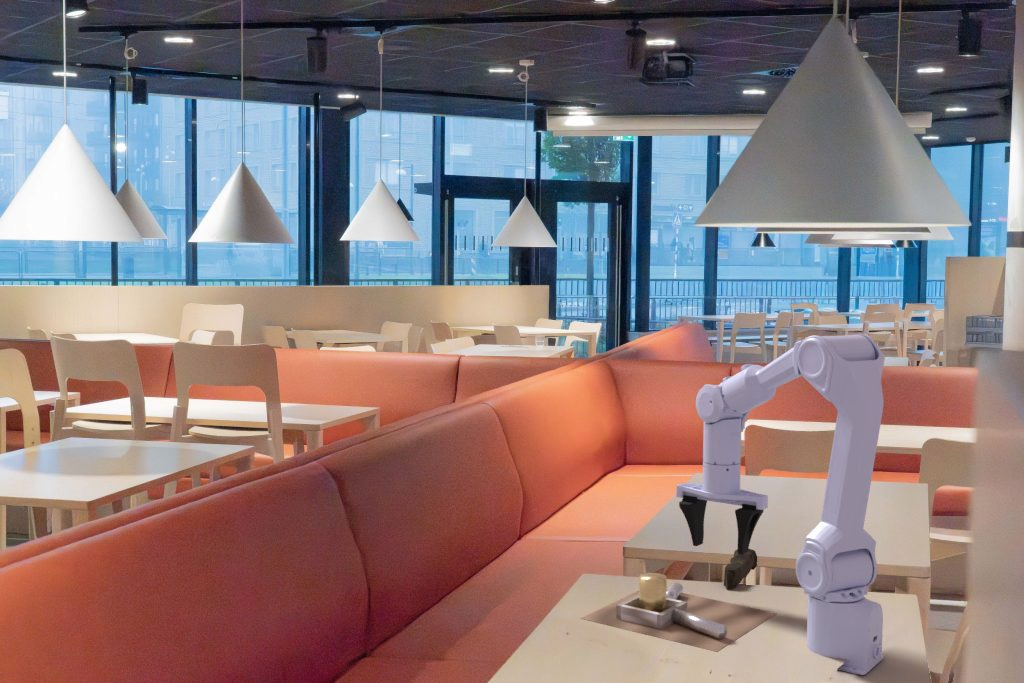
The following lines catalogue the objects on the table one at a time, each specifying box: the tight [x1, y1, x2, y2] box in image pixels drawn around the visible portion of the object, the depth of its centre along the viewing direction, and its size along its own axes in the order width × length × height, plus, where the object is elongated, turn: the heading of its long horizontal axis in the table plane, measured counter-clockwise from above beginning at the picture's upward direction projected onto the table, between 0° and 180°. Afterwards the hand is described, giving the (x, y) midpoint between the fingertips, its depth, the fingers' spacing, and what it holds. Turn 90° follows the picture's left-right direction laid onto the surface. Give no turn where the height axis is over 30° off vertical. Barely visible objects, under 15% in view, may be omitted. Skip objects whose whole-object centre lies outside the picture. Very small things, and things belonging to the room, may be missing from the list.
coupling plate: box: [580, 590, 778, 653], centre depth 158 cm, size 22×20×4 cm
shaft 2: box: [671, 609, 727, 640], centre depth 152 cm, size 9×2×2 cm, turn 38°
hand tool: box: [723, 548, 758, 591], centre depth 180 cm, size 19×4×5 cm, turn 157°
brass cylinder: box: [638, 572, 668, 613], centre depth 158 cm, size 4×4×6 cm
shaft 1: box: [666, 582, 684, 600], centre depth 164 cm, size 8×2×2 cm, turn 158°
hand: (720, 548), depth 166 cm, fingers open, 7 cm apart
